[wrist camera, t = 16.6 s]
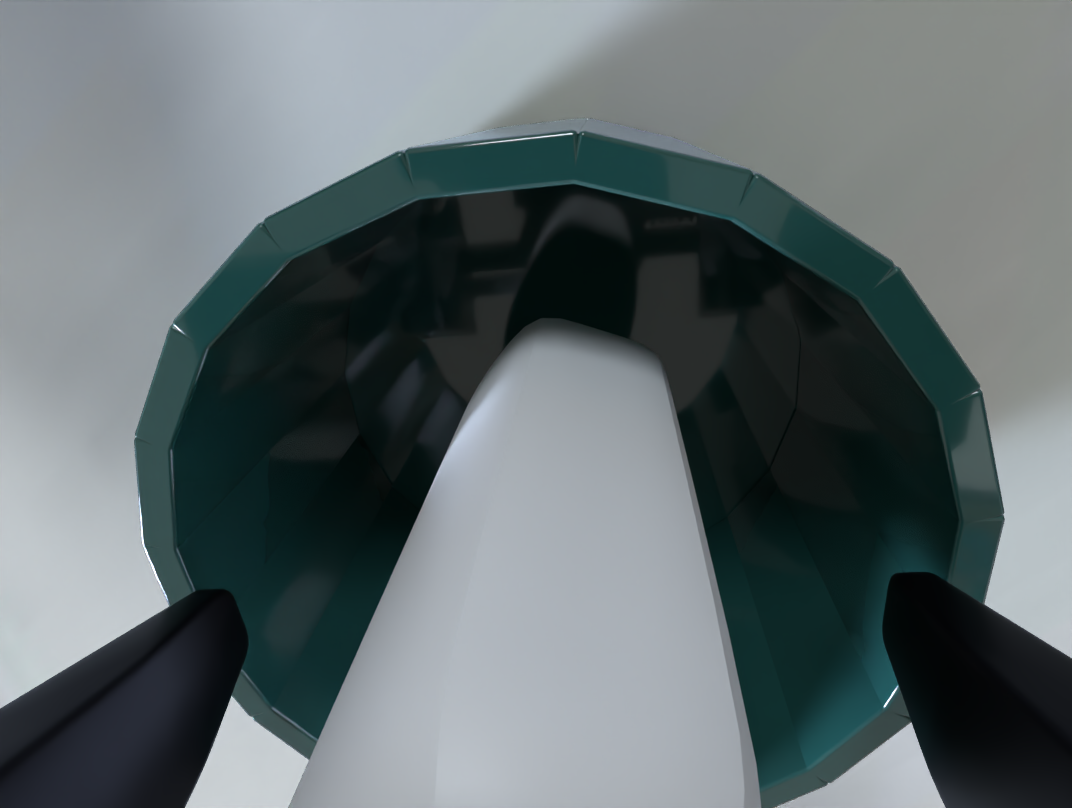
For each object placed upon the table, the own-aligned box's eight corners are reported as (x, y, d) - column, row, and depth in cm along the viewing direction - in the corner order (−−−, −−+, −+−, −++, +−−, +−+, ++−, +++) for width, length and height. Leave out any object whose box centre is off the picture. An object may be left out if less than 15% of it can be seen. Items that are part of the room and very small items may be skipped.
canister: (798, 563, 16) (925, 851, 10) (386, 574, 18) (269, 835, 11) (837, 87, 12) (1117, 68, 5) (278, 151, 13) (-17, 195, 7)
